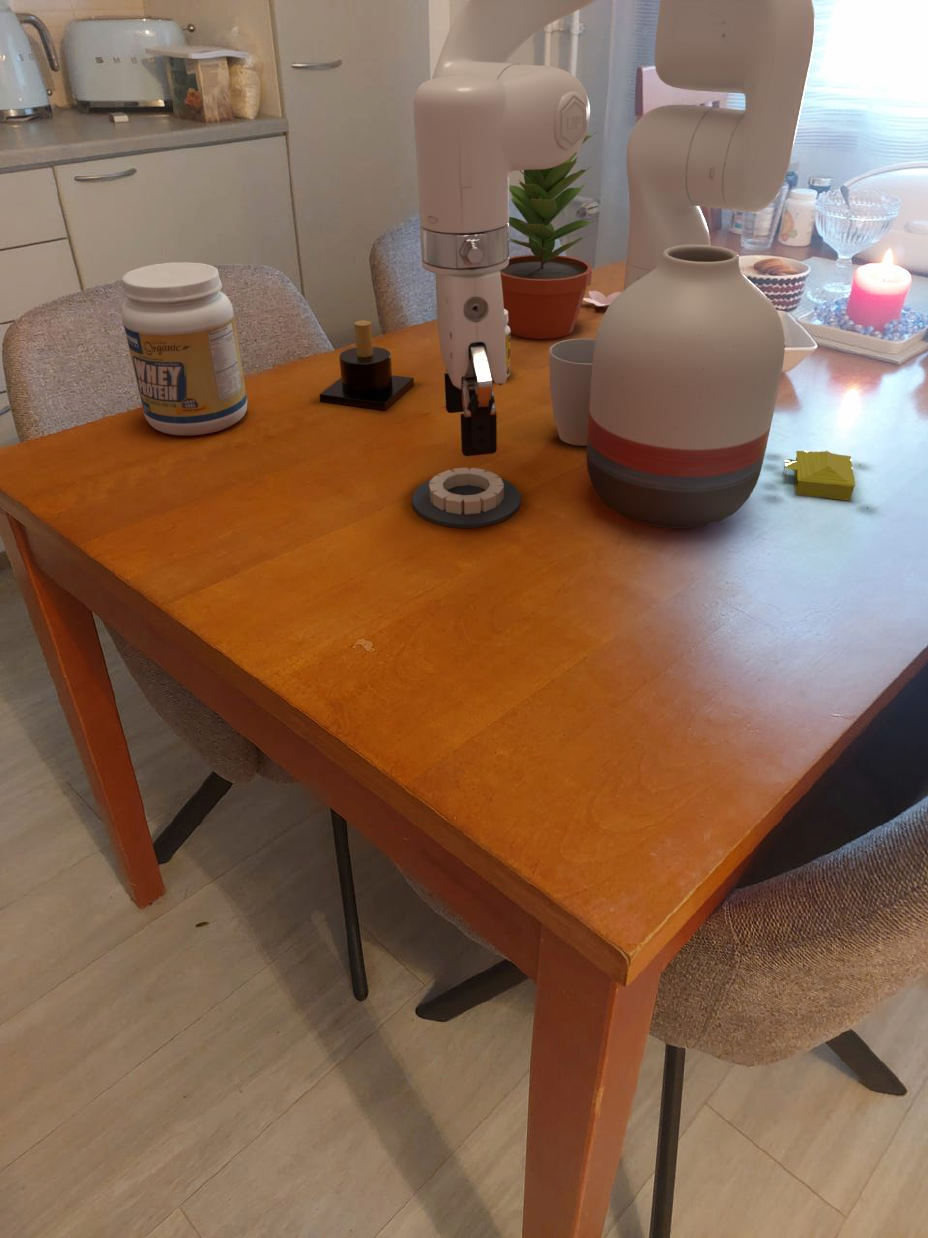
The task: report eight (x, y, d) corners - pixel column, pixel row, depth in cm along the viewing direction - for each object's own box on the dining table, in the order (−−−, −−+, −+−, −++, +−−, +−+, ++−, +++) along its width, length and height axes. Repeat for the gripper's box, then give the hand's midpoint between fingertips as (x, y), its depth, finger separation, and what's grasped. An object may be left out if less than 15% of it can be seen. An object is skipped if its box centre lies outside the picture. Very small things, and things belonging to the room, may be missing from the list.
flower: (625, 318, 138) (626, 308, 137) (564, 310, 141) (564, 300, 140) (643, 301, 145) (644, 291, 144) (584, 294, 148) (585, 284, 148)
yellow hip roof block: (867, 509, 88) (875, 483, 86) (771, 498, 90) (776, 472, 88) (860, 466, 96) (866, 441, 94) (771, 456, 98) (776, 432, 96)
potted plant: (521, 307, 143) (527, 90, 126) (605, 323, 136) (624, 96, 118) (467, 331, 133) (466, 101, 116) (555, 351, 126) (567, 108, 109)
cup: (622, 427, 105) (630, 342, 99) (608, 455, 98) (616, 367, 93) (555, 418, 107) (559, 335, 101) (537, 446, 101) (541, 359, 95)
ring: (512, 486, 92) (512, 473, 91) (488, 519, 86) (489, 506, 85) (445, 475, 94) (445, 463, 93) (418, 507, 88) (417, 494, 87)
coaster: (534, 485, 93) (534, 481, 93) (500, 536, 84) (500, 531, 84) (436, 470, 96) (436, 465, 96) (394, 517, 88) (394, 512, 87)
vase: (787, 526, 85) (847, 269, 72) (625, 554, 82) (655, 288, 68) (700, 453, 99) (736, 224, 85) (557, 474, 95) (571, 238, 81)
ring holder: (414, 385, 116) (410, 315, 111) (385, 410, 109) (380, 337, 104) (351, 377, 119) (345, 308, 114) (320, 401, 112) (312, 329, 107)
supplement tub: (125, 432, 105) (88, 284, 95) (182, 394, 114) (154, 256, 104) (216, 444, 102) (188, 293, 92) (267, 404, 111) (246, 263, 101)
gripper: (530, 271, 70) (527, 468, 80) (489, 218, 83) (491, 392, 94) (435, 278, 69) (445, 476, 79) (409, 224, 82) (420, 399, 93)
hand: (470, 431), depth 86 cm, fingers open, 9 cm apart
